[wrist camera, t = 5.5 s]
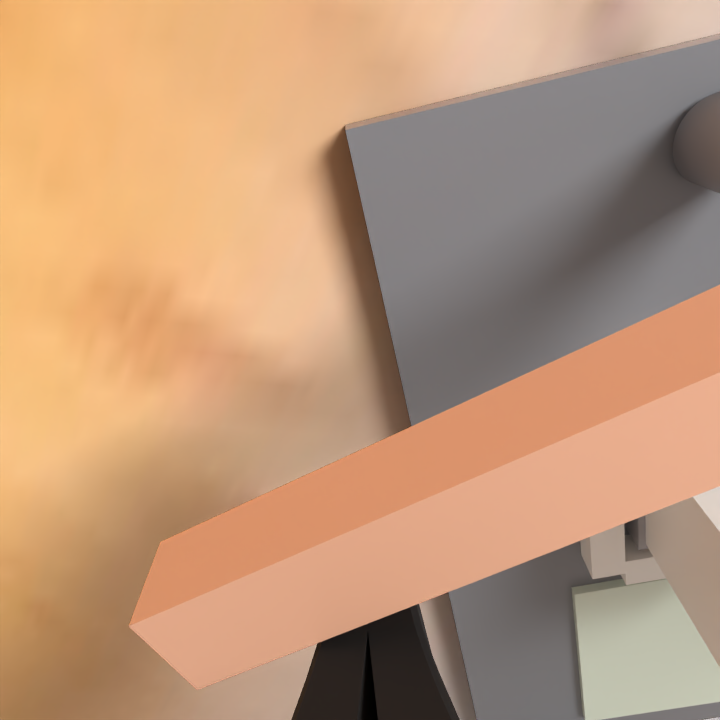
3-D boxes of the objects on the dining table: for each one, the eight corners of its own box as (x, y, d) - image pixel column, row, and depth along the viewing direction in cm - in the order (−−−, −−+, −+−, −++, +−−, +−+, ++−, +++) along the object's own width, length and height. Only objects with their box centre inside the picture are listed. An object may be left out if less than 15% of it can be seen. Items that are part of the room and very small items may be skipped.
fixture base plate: (1079, -55, 13) (1197, -70, 11) (884, 665, 24) (928, 715, 22) (345, 124, 14) (344, 136, 12) (479, 726, 25) (489, 778, 23)
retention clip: (773, 157, 14) (1267, 287, 6) (268, 407, 16) (204, 697, 9) (755, 71, 13) (1297, 105, 5) (226, 349, 16) (119, 617, 8)
